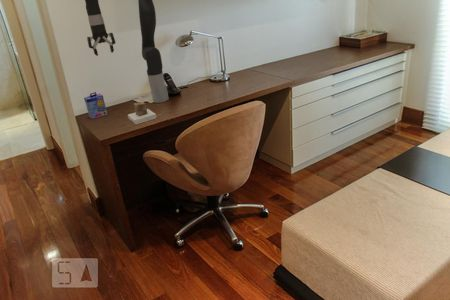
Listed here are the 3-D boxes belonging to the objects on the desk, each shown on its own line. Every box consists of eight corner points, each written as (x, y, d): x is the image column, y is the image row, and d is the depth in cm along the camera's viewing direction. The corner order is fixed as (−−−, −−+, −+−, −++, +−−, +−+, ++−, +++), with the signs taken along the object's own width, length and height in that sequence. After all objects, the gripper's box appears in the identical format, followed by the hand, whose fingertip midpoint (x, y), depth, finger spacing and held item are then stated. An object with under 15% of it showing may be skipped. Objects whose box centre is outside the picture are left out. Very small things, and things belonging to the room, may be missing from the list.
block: (144, 111, 202) (142, 101, 199) (147, 113, 198) (145, 103, 195) (135, 114, 200) (133, 103, 197) (138, 116, 196) (136, 105, 193)
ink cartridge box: (92, 119, 208) (84, 95, 202) (89, 117, 212) (81, 93, 206) (108, 114, 213) (101, 90, 207) (105, 112, 217) (98, 89, 211)
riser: (148, 112, 207) (147, 108, 206) (156, 118, 198) (155, 113, 197) (128, 118, 202) (127, 114, 201) (135, 124, 193) (134, 119, 191)
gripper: (108, 21, 200) (115, 50, 207) (82, 25, 194) (90, 55, 201) (111, 21, 194) (119, 52, 201) (85, 26, 188) (93, 57, 195)
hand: (104, 53), depth 201 cm, fingers open, 8 cm apart
